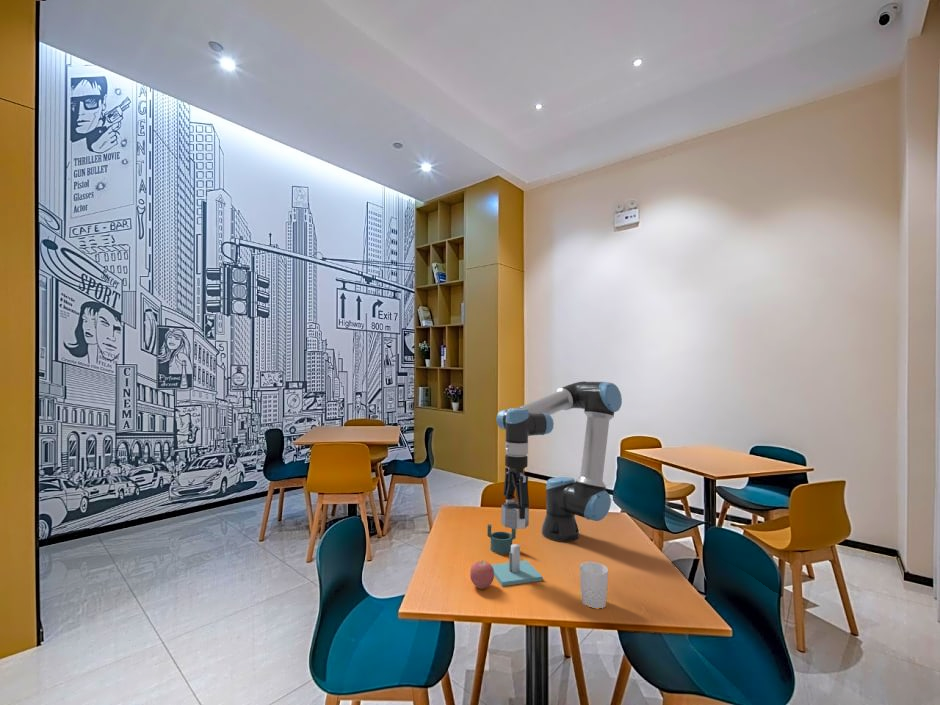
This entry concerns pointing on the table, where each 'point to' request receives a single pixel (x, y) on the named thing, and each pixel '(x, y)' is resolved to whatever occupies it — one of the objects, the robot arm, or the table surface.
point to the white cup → (594, 584)
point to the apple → (482, 574)
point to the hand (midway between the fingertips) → (515, 523)
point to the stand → (515, 570)
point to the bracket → (501, 541)
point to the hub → (512, 515)
